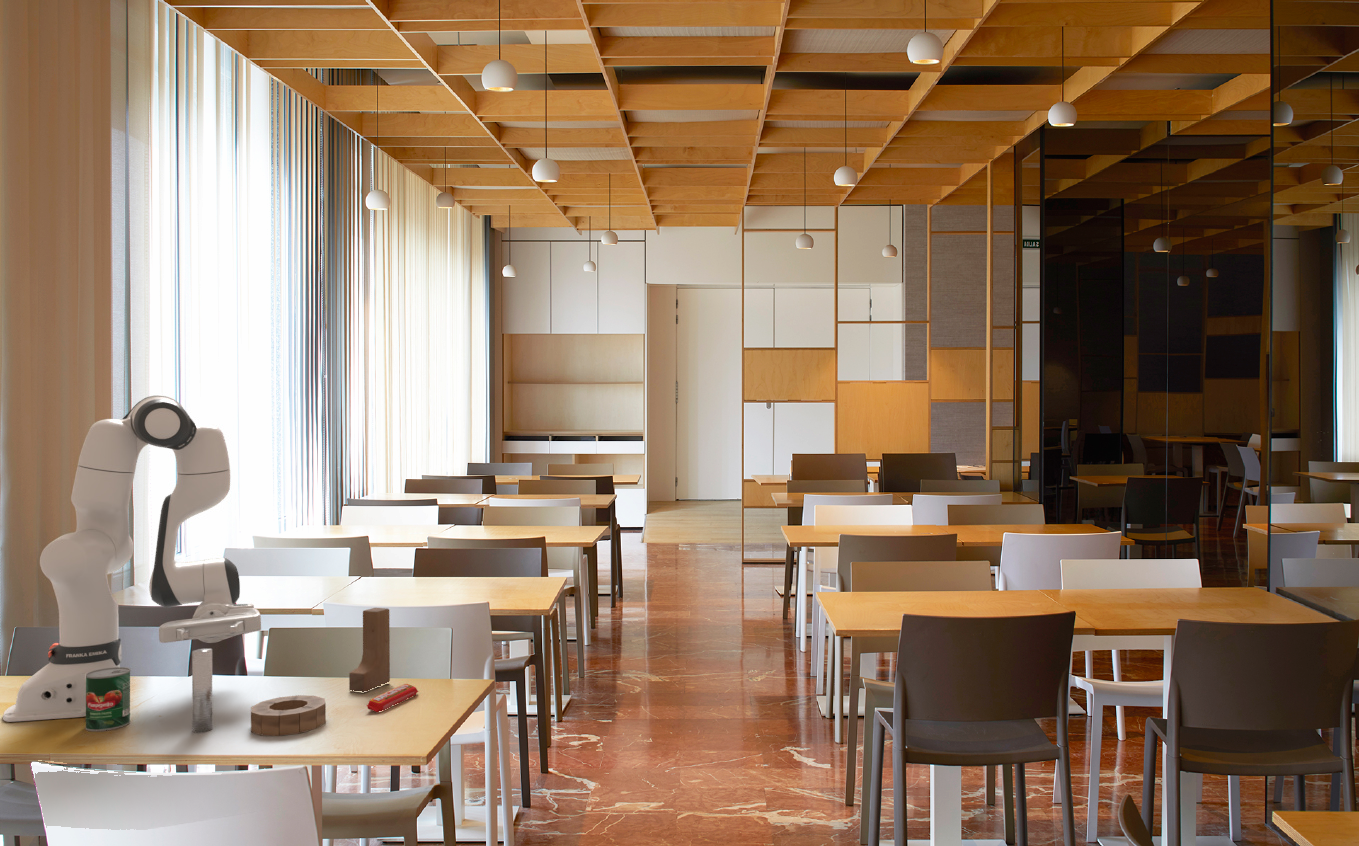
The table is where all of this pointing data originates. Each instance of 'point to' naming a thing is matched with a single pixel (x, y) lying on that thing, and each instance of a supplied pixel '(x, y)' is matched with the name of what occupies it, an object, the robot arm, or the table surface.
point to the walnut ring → (288, 715)
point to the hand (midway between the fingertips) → (209, 633)
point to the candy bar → (391, 697)
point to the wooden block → (373, 652)
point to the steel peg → (201, 690)
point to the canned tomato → (107, 699)
